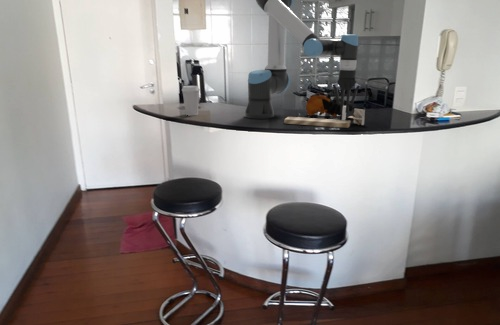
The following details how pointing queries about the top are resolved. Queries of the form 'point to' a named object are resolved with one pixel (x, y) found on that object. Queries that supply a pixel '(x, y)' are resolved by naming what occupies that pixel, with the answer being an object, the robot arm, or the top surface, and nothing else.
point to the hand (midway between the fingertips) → (343, 119)
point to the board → (317, 122)
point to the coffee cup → (191, 99)
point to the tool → (324, 105)
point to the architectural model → (358, 116)
